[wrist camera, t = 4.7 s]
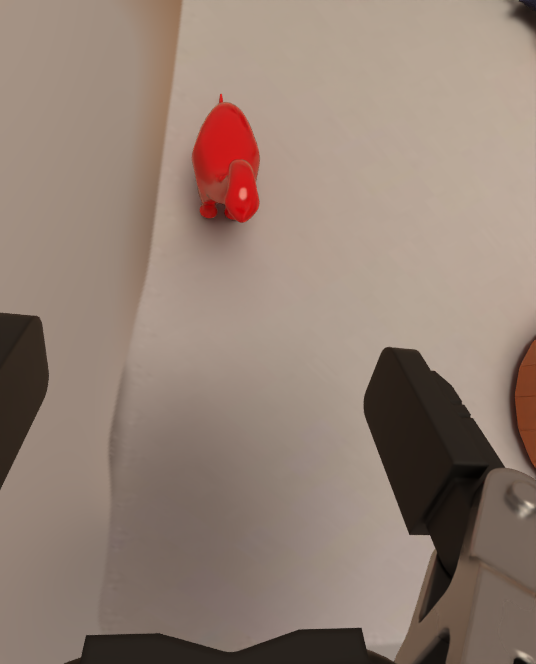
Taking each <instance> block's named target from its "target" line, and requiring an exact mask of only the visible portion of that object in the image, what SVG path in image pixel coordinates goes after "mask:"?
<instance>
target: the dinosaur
mask: <svg viewBox="0 0 536 664" xmlns="http://www.w3.org/2000/svg"><path fill="white" fill-rule="evenodd" d="M192 164H193V168H194V172H195V177H196V182H197V187H198V193H199V197H200V199H201V201H202V205H201V206H200V214H201V215H202V216H203V217H205V218H213V217H215V216H216V215H217V207H216V204H217V203H219V204H225V206H226V208H225V210H224V214H225V216H226V217H227V218H229V219H231V220H237V221H238V222H240V223H244V222H246V221H248V220H249V219H250V218H251V217H252V216H253V215H254V214H255V213H256V211H257V210H258V207H259V197H258V192H257V186H256V180H257V175H258V170H259V164H260V155H259V150H258V146H257V143H256V140H255V137H254V134H253V131H252V129H251V126H250V124H249V122H248V120H247V118H246V117H245V115H244V113H243V112H242V111H241V110H240V109H239V108H238V107H237V106H236V105H234V104H232V103H229V102H223V98H222V94H220V100H219V104H218V105H216V106H215V107H214V108H213V109H212V110H211V112H210V113H209V114H208V116H207V117H206V119H205V121H204V123H203V124H202V127H201V129H200V131H199V134H198V136H197V139H196V142H195V145H194V148H193V152H192Z"/></svg>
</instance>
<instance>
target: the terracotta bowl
mask: <svg viewBox="0 0 536 664" xmlns="http://www.w3.org/2000/svg"><path fill="white" fill-rule="evenodd" d="M515 405H516V414H517V422H518V429H519V433H520V435H521V438H522V440H523V443H524V445H525V448H526V450H527V453H528V455H529V458H530V460H531V462H532V464H533V465H534V466H535V468H536V340H535V341H533V343H532V344H531V346H530V348H529V350H528V352H527V354H526V355H525V357H524V359H523V361H522V363H521V365H520V368H519V372H518V378H517V384H516V390H515Z"/></svg>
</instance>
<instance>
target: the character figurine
mask: <svg viewBox="0 0 536 664" xmlns="http://www.w3.org/2000/svg"><path fill="white" fill-rule="evenodd" d="M519 2H522V3H524V4H525V5H526V6H528V7H529V8H530V9H532V10H534V11H536V0H519Z"/></svg>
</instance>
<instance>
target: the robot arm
mask: <svg viewBox="0 0 536 664" xmlns="http://www.w3.org/2000/svg"><path fill="white" fill-rule="evenodd" d="M48 380H49V371H48V363H47V356H46V349H45V341H44V335H43V327H42V322H41V320H40V318H39V317H38V316H30V315H20V314H9V313H0V489H1V487H2V485H3V483H4V481H5V479H6V477H7V474H8V472H9V470H10V468H11V466H12V464H13V462H14V460H15V458H16V456H17V454H18V452H19V449H20V448H21V446H22V444H23V441H24V439H25V437H26V435H27V433H28V431H29V429H30V427H31V425H32V423H33V421H34V419H35V417H36V414H37V412H38V410H39V408H40V406H41V404H42V402H43V400H44V398H45V395H46V392H47V387H48ZM364 414H365V418H366V421H367V423H368V426H369V429H370V431H371V434H372V437H373V439H374V442H375V444H376V447H377V450H378V452H379V455H380V458H381V460H382V463H383V466H384V468H385V471H386V474H387V476H388V479H389V482H390V484H391V487H392V490H393V492H394V495H395V498H396V500H397V503H398V506H399V508H400V511H401V514H402V516H403V519H404V522H405V524H406V527H407V530H408V532H409V535H430V536H431V539H432V541H433V544H434V546H435V550H434V551H433V553H432V555H431V558H430V561H429V564H428V568H427V571H426V574H425V578H424V581H423V584H422V588H421V591H420V594H419V598H418V601H417V604H416V607H415V611H414V614H413V617H412V621H411V624H410V627H409V630H408V633H407V635H406V637H405V640H404V642H403V644H402V646H401V647H400V649H399V651H398V653H397V655H396V658H395V660H394V662H393V661H391V660H389V659H388V658H386V657H384V656H381V655H379V654H377V653H375V652H373V651H370V650H367V649H366V645H365V641H364V637H363V633H362V628H339V629H302V630H297V631H294V632H291V633H288V634H285V635H282V636H280V637H277V638H274V639H271V640H268V641H266V642H263V643H260V644H257V645H254V646H251V647H249V648H246V649H243V650H240V651H237V652H225V651H221V650H217V649H214V648H210V647H206V646H203V645H199V644H196V643H192V642H189V641H185V640H181V639H178V638H174V637H171V636H167V635H163V634H160V633H155V634H118V635H86V639H85V643H84V647H83V652H82V656H81V658H78V659H75V660H72V661H69V662H67V663H64V664H536V480H535V479H533V478H532V477H530V476H528V475H527V474H524V473H522V472H520V471H517V470H514V469H509V468H505V466H504V465H503V463H502V462H501V460H500V459H499V457H498V456H497V454H496V453H495V451H494V450H493V448H492V447H491V445H490V443H489V442H488V440H487V439H486V437H485V436H484V434H483V433H482V431H481V430H480V428H479V427H478V425H477V424H476V422H475V421H474V419H473V418H471V417H470V415H471V414H470V413H469V411H468V410H467V408H466V407H465V405H462V401H461V399H460V398H459V396H458V395H457V393H456V392H455V390H454V388H453V387H452V385H450V384H449V383H448V382H447V381H446V380H445V379H443V378H442V377H441V376H440V375H439V374H438V373H437V372H435V371H431V370H430V368H429V367H428V365H427V364H426V362H425V360H424V359H423V357H422V356H421V354H420V353H419V351H417V350H414V349H403V348H392V347H386V348H385V349H384V350H383V351H382V352H381V355H380V357H379V360H378V362H377V365H376V367H375V370H374V372H373V375H372V377H371V380H370V382H369V385H368V387H367V390H366V393H365V396H364Z"/></svg>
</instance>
